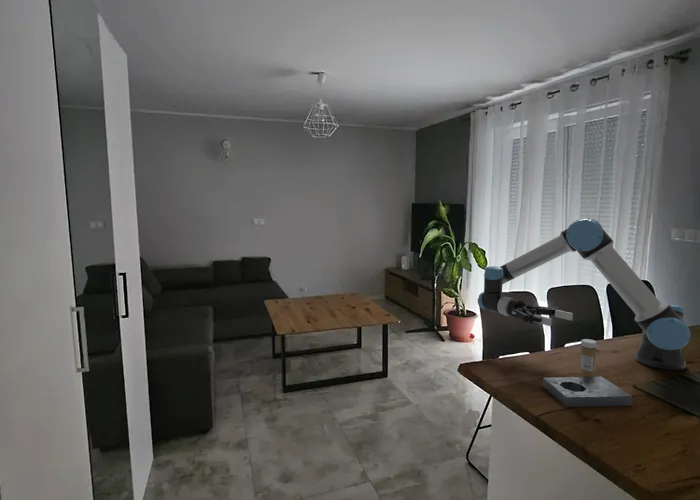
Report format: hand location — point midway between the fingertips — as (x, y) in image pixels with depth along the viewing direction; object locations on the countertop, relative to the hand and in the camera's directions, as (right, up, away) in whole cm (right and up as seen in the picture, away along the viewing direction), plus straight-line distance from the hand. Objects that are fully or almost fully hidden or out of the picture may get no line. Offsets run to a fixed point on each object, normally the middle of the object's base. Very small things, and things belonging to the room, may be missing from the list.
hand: (561, 319), depth 145 cm
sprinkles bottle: (+5, -20, -6) cm, 21 cm away
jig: (-3, -21, -20) cm, 29 cm away
